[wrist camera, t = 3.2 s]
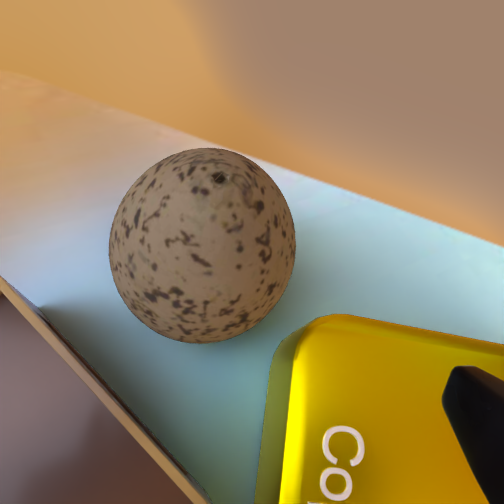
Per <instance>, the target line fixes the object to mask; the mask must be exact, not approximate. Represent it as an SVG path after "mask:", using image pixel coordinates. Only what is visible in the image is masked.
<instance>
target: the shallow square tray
mask: <svg viewBox="0 0 504 504" xmlns="http://www.w3.org/2000/svg"><path fill="white" fill-rule="evenodd" d="M0 504H212V502H211V500H210V498H209V496H208V495H207V493H206V491H205V490H204V489H203V488H202V487H201V486H200V485H199V484H198V483H197V481H196V480H195V479H194V478H193V477H192V476H191V475H190V474H189V473H188V472H187V471H186V469H185V468H184V467H183V466H182V465H181V464H180V463H179V462H178V461H177V460H176V459H175V457H174V456H173V455H172V454H171V453H170V452H169V451H168V450H167V449H166V448H165V447H164V445H163V444H162V443H161V442H160V441H159V440H158V439H157V438H156V437H155V436H154V434H153V433H152V432H151V431H150V430H149V429H148V428H147V427H146V426H145V425H144V424H143V422H142V421H141V420H140V419H139V418H138V417H137V416H136V415H135V414H134V413H133V412H132V410H131V409H130V408H129V407H128V406H127V405H126V404H125V403H124V402H123V401H122V400H121V398H120V397H119V396H118V395H117V394H116V393H115V392H114V391H113V390H112V389H111V388H110V386H109V385H108V384H107V383H106V382H105V381H104V380H103V379H102V378H101V377H100V376H99V374H98V373H97V372H96V371H95V370H94V369H93V368H92V367H91V366H90V365H89V363H88V362H87V361H86V360H85V359H84V358H83V357H82V356H81V355H80V354H79V353H78V351H77V350H76V349H75V348H74V347H73V346H72V345H71V344H70V343H69V342H68V341H67V339H66V338H65V337H64V336H63V335H62V334H61V333H60V332H59V331H58V330H57V329H56V327H55V326H54V325H53V324H52V323H51V322H50V321H49V320H48V319H47V318H46V317H45V315H44V314H43V313H42V312H41V311H40V310H39V309H38V308H37V307H36V306H35V305H34V304H33V303H31V302H30V301H29V300H28V299H27V298H26V297H24V296H23V295H22V294H21V293H20V292H19V291H17V290H16V289H15V288H14V287H13V286H12V285H10V284H9V283H8V282H7V281H6V280H5V279H3V278H2V277H1V276H0Z"/></svg>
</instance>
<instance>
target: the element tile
mask: <svg viewBox="0 0 504 504" xmlns="http://www.w3.org/2000/svg"><path fill="white" fill-rule="evenodd" d="M467 365H472V366H476V367H478V368H480V369H482V370H484V371H486V372H488V373H490V374H492V375H494V376H495V377H497V378H499V379H501V380H503V381H504V345H503V344H498V343H493V342H488V341H483V340H478V339H473V338H467V337H462V336H457V335H452V334H447V333H442V332H437V331H431V330H426V329H421V328H416V327H411V326H406V325H400V324H395V323H390V322H385V321H380V320H375V319H370V318H364V317H359V316H354V315H349V314H331V315H327V316H323V317H318V318H316V319H314V320H313V321H311V322H309V323H308V324H306V325H304V326H303V327H301V328H300V329H298V330H296V331H295V332H293V333H292V334H290V335H289V336H288V337H286V338H285V339H284V340H282V341H281V343H280V345H279V346H278V348H277V350H276V352H275V353H274V356H273V359H272V363H271V367H270V373H269V381H268V390H267V398H266V407H265V415H264V423H263V432H262V440H261V448H260V457H259V465H258V473H257V482H256V490H255V498H254V504H489V502H488V501H487V499H486V497H485V495H484V493H483V492H482V490H481V488H480V486H479V484H478V482H477V481H476V479H475V477H474V475H473V472H472V470H471V468H470V466H469V464H468V462H467V460H466V458H465V455H464V453H463V451H462V449H461V447H460V444H459V442H458V440H457V438H456V436H455V433H454V431H453V429H452V427H451V425H450V422H449V420H448V418H447V416H446V414H445V412H444V409H443V407H442V401H441V398H442V393H443V391H444V388H445V386H446V383H447V380H448V378H449V375H450V372H451V370H452V369H453V368H454V367H456V366H467Z"/></svg>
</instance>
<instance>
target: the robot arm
mask: <svg viewBox="0 0 504 504" xmlns="http://www.w3.org/2000/svg"><path fill="white" fill-rule="evenodd" d="M441 401H442V407H443V409H444V412H445V414H446V416H447V418H448V420H449V422H450V425H451V427H452V429H453V431H454V433H455V436H456V438H457V440H458V442H459V444H460V447H461V449H462V451H463V453H464V455H465V458H466V460H467V462H468V464H469V466H470V468H471V470H472V472H473V475H474V477H475V479H476V481H477V482H478V484H479V486H480V488H481V490H482V492H483V493H484V495H485V497H486V499H487V501H488V502H489V504H504V381H503V380H501V379H499V378H497V377H495V376H494V375H492V374H490V373H488V372H486V371H484V370H482V369H480V368H478V367H476V366H472V365H467V366H456V367H454V368H453V369H452V370H451V372H450V375H449V378H448V380H447V383H446V386H445V388H444V391H443V393H442V398H441Z"/></svg>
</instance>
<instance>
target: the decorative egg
mask: <svg viewBox="0 0 504 504" xmlns="http://www.w3.org/2000/svg"><path fill="white" fill-rule="evenodd" d="M295 250H296V241H295V229H294V223H293V219H292V216H291V212H290V209H289V207H288V205H287V202H286V200H285V198H284V196H283V194H282V193H281V191H280V189H279V188H278V186H277V185H276V184H275V182H274V181H273V180H272V178H271V177H270V176H269V175H268V174H267V173H266V172H265V171H264V170H263V169H262V168H260V167H259V166H258V165H257V164H256V163H254V162H253V161H251V160H249V159H248V158H246V157H244V156H242V155H240V154H237V153H234V152H231V151H228V150H224V149H217V148H198V149H191V150H187V151H183V152H180V153H177V154H174V155H171V156H169V157H167V158H165V159H163V160H162V161H160V162H158V163H157V164H155V165H154V166H152V167H151V168H150V169H148V170H147V171H146V172H145V173H144V174H143V175H142V176H141V177H140V178H139V179H138V180H137V181H136V182H135V183H134V184H133V185H132V187H131V188H130V189H129V191H128V192H127V193H126V195H125V197H124V198H123V200H122V202H121V203H120V205H119V208H118V210H117V212H116V215H115V217H114V221H113V224H112V228H111V233H110V239H109V259H110V267H111V271H112V275H113V279H114V282H115V284H116V287H117V290H118V292H119V294H120V296H121V297H122V299H123V301H124V302H125V304H126V305H127V306H128V308H129V309H130V310H131V312H132V313H133V314H134V315H135V316H136V317H137V318H138V319H139V320H140V321H141V322H142V323H144V324H145V325H146V326H148V327H149V328H150V329H152V330H154V331H155V332H157V333H159V334H161V335H163V336H165V337H168V338H171V339H174V340H177V341H181V342H187V343H198V344H203V343H213V342H219V341H223V340H227V339H230V338H232V337H235V336H238V335H240V334H242V333H243V332H245V331H247V330H249V329H250V328H252V327H253V326H255V325H256V324H257V323H258V322H260V321H261V320H262V319H263V318H264V317H265V316H266V315H267V314H268V313H269V312H270V311H271V310H272V309H273V307H274V306H275V305H276V303H277V302H278V301H279V299H280V298H281V296H282V294H283V292H284V290H285V288H286V287H287V284H288V281H289V279H290V276H291V273H292V269H293V265H294V260H295Z"/></svg>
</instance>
